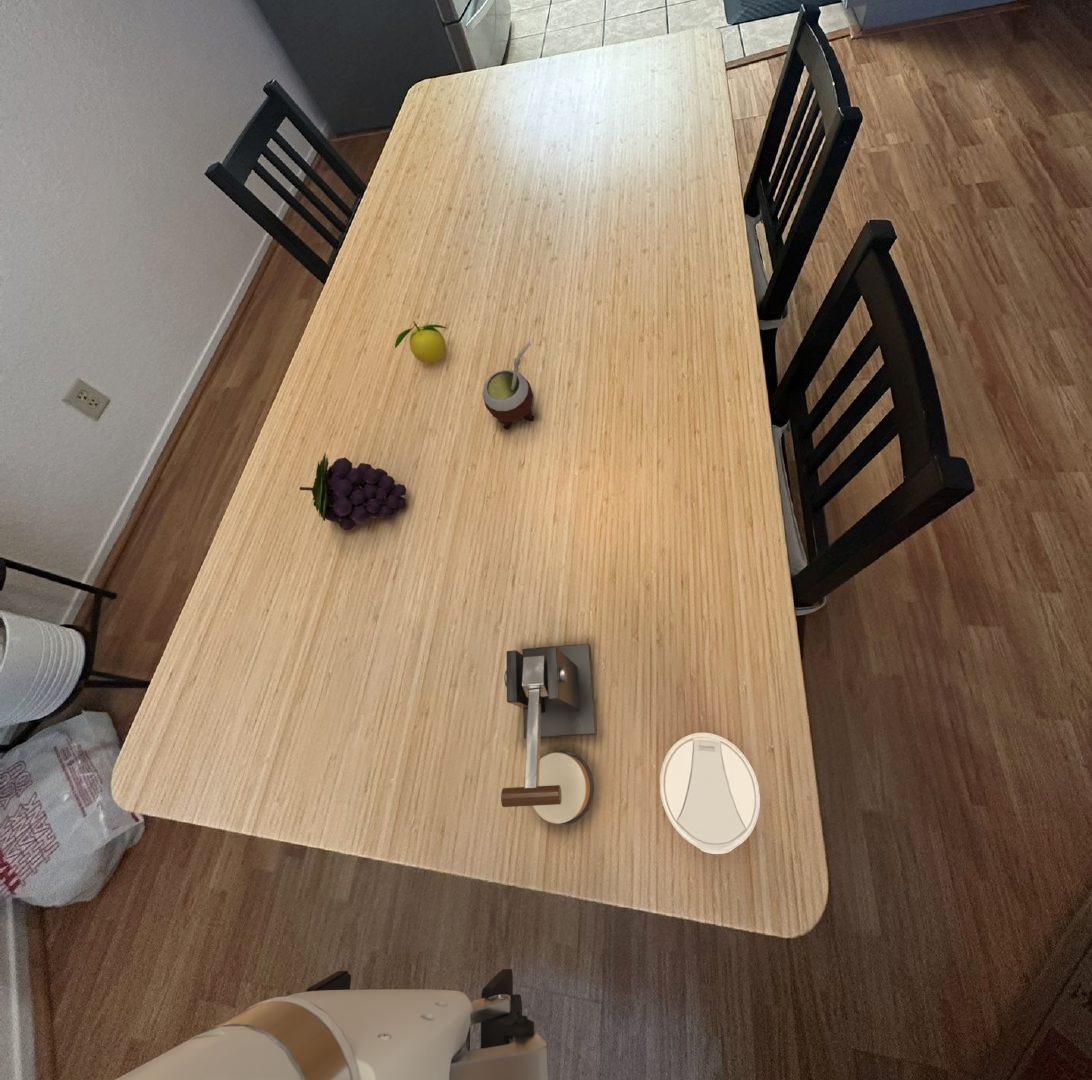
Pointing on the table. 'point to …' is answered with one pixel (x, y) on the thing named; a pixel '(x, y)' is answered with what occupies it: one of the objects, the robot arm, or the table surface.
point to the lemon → (425, 342)
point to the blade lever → (533, 741)
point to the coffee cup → (709, 792)
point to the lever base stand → (558, 690)
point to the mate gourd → (509, 395)
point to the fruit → (354, 493)
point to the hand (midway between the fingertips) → (423, 1008)
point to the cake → (566, 786)
